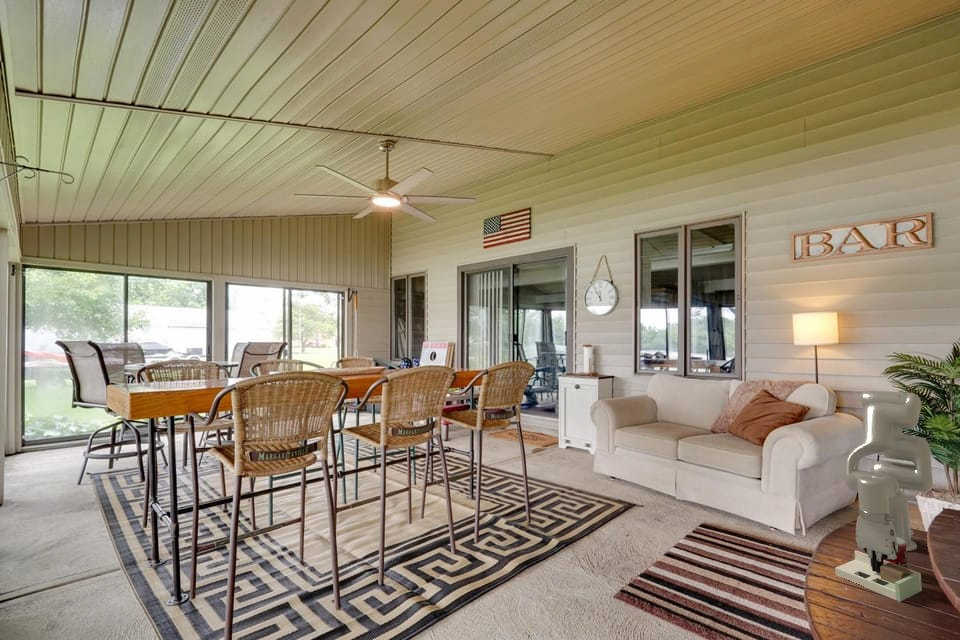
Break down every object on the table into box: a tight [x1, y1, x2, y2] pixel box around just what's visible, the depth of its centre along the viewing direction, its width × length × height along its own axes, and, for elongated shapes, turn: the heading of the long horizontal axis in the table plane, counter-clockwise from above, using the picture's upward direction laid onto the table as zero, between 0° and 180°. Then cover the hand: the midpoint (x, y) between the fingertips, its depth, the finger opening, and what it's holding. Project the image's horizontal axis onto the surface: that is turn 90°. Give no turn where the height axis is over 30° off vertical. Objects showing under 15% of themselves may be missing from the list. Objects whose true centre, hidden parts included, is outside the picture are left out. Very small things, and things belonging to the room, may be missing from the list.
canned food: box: [885, 537, 909, 569], centre depth 161 cm, size 8×8×11 cm
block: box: [880, 562, 911, 584], centre depth 150 cm, size 6×6×4 cm
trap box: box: [834, 550, 923, 603], centre depth 154 cm, size 13×18×6 cm
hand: (877, 570), depth 155 cm, fingers closed
